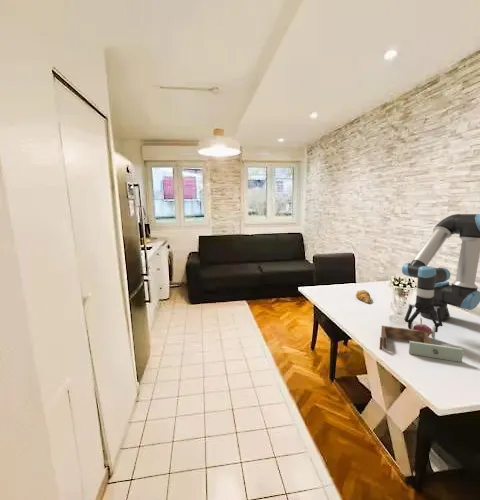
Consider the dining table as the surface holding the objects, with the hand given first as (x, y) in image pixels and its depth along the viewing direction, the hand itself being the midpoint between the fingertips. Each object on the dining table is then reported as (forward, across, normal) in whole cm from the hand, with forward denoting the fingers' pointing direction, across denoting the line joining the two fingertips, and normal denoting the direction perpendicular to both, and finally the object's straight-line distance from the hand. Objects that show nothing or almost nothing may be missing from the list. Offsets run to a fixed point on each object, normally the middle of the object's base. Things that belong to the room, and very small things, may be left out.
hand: (421, 335), depth 144 cm
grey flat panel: (+1, -2, +21) cm, 21 cm away
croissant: (+1, +28, -55) cm, 62 cm away
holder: (+1, +10, +13) cm, 16 cm away
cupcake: (+1, 0, 0) cm, 1 cm away
